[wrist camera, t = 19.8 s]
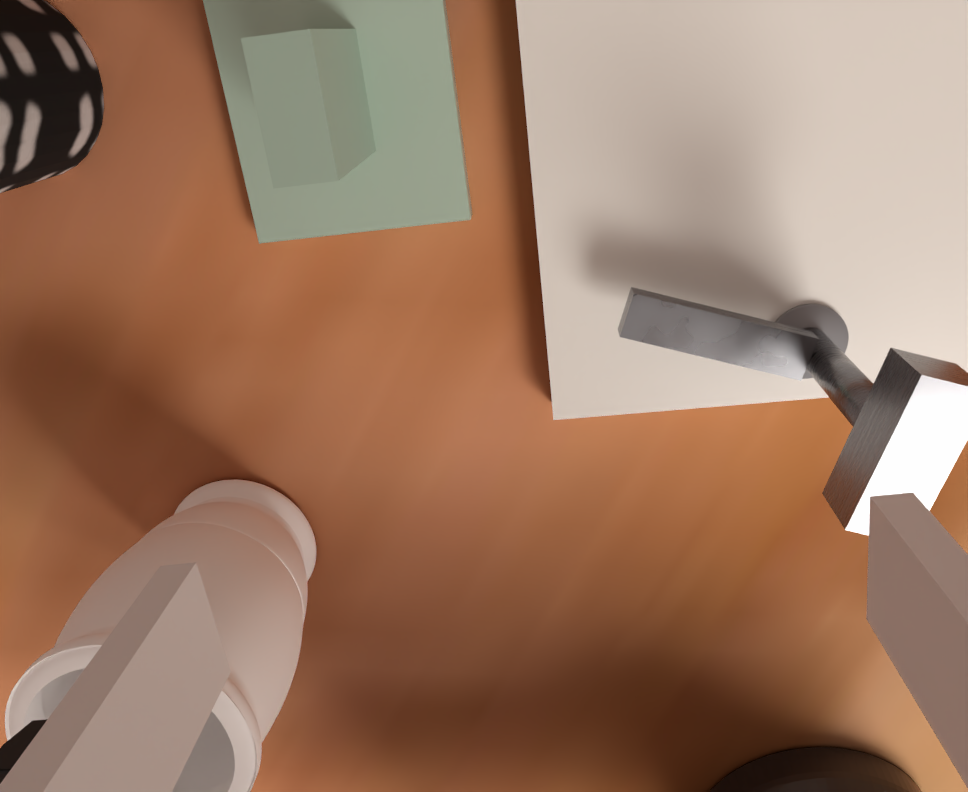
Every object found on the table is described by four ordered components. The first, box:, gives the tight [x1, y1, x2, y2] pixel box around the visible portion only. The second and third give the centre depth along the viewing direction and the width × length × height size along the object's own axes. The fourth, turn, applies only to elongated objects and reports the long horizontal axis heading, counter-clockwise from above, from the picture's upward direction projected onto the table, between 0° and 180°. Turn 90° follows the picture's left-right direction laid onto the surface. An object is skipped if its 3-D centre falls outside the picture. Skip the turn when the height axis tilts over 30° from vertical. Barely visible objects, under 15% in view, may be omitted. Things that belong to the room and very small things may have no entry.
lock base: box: [516, 0, 968, 420], centre depth 36 cm, size 23×20×2 cm
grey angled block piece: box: [618, 287, 968, 535], centre depth 33 cm, size 10×6×12 cm, turn 77°
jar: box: [5, 479, 316, 792], centre depth 40 cm, size 11×10×15 cm
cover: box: [203, 0, 472, 243], centre depth 33 cm, size 12×10×10 cm
